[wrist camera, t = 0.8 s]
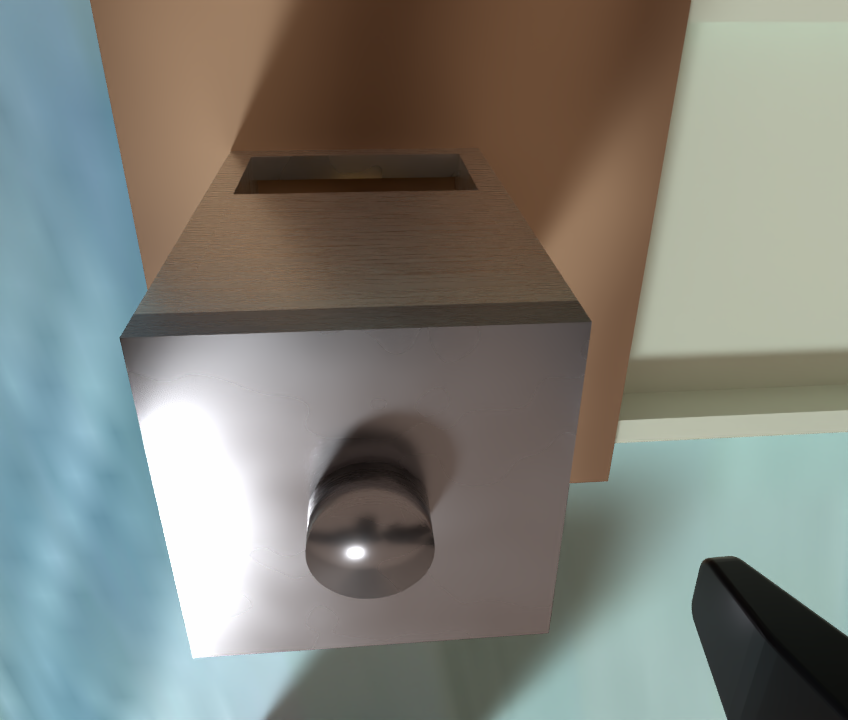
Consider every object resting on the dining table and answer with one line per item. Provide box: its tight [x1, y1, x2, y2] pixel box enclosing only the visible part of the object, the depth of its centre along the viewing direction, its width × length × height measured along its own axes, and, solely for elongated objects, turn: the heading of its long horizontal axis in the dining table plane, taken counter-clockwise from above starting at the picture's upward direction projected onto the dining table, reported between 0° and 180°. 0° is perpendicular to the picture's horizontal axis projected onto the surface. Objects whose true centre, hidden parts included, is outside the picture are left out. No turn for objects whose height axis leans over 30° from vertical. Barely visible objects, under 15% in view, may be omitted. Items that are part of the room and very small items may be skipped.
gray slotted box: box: [120, 148, 592, 658], centre depth 13 cm, size 5×5×9 cm
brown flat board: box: [90, 0, 691, 483], centre depth 18 cm, size 12×14×2 cm
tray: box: [615, 0, 848, 443], centre depth 19 cm, size 11×12×2 cm
